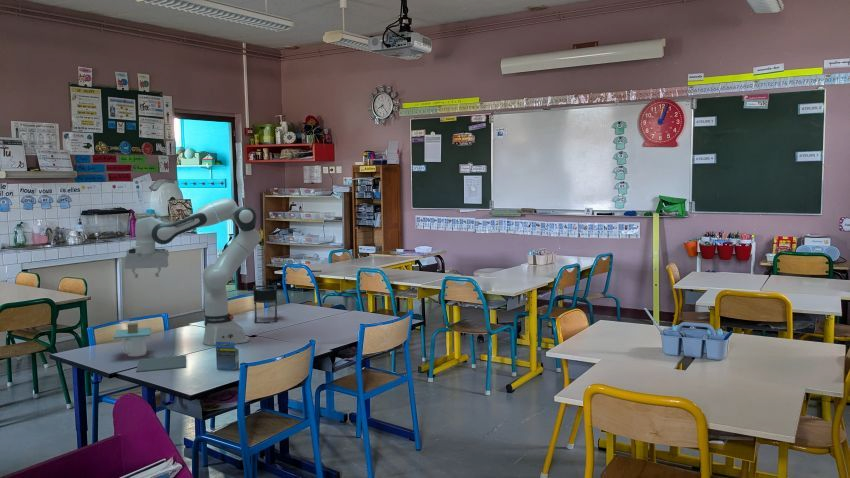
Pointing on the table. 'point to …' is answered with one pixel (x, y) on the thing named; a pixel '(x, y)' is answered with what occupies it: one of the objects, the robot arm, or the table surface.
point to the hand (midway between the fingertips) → (146, 277)
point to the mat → (161, 363)
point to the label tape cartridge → (227, 356)
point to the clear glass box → (265, 299)
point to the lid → (132, 332)
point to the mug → (135, 346)
